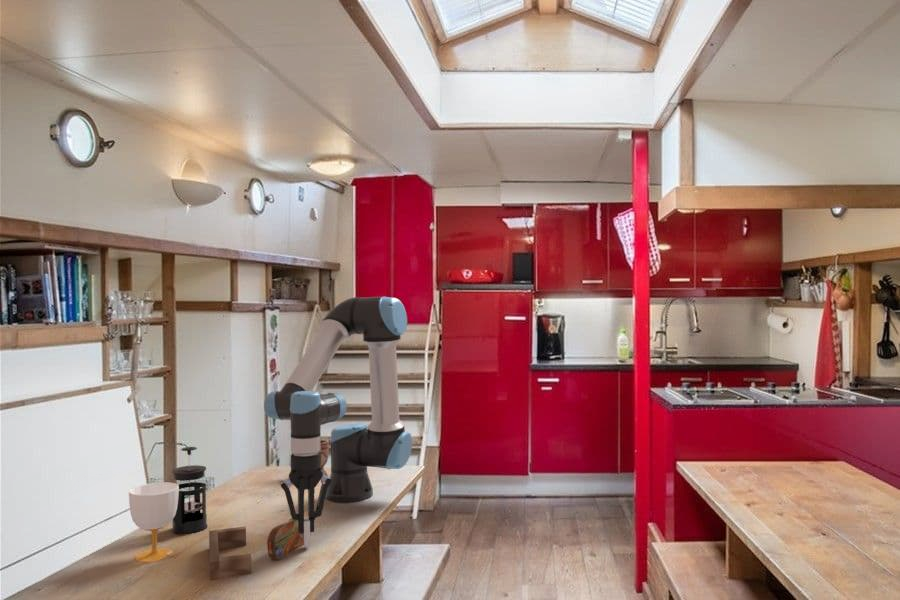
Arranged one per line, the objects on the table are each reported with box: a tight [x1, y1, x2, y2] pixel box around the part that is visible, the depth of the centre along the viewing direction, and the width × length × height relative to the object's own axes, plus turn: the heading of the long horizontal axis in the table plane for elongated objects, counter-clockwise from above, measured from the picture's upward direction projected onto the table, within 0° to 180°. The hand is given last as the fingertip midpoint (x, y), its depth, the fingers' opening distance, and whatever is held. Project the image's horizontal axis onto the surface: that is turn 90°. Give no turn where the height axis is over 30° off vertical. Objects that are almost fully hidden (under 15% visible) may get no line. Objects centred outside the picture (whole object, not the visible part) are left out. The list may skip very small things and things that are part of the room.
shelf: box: [208, 525, 252, 581], centre depth 164 cm, size 9×22×5 cm, turn 20°
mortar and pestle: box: [319, 438, 330, 477], centre depth 242 cm, size 12×9×20 cm
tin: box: [266, 517, 304, 561], centre depth 169 cm, size 15×3×8 cm, turn 159°
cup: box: [128, 481, 180, 563], centre depth 169 cm, size 12×12×17 cm
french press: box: [171, 446, 208, 535], centre depth 188 cm, size 12×9×23 cm
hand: (306, 545), depth 170 cm, fingers closed
